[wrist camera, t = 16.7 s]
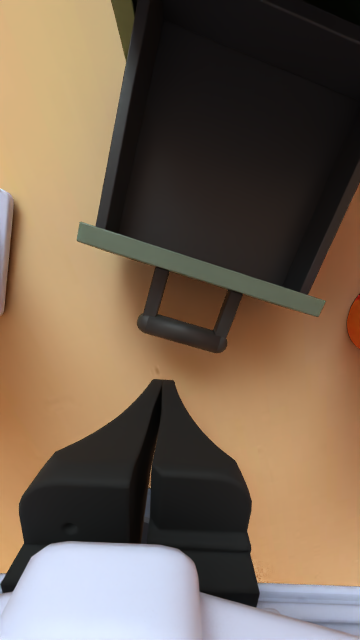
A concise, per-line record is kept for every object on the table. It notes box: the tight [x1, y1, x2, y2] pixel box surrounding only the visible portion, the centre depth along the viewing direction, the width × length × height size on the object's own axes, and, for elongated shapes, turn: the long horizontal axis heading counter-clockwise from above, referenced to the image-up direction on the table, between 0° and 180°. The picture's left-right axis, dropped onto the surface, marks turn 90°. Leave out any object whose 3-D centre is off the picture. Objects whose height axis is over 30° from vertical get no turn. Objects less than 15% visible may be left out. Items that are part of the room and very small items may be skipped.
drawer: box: [77, 0, 360, 353], centre depth 9 cm, size 11×15×4 cm
